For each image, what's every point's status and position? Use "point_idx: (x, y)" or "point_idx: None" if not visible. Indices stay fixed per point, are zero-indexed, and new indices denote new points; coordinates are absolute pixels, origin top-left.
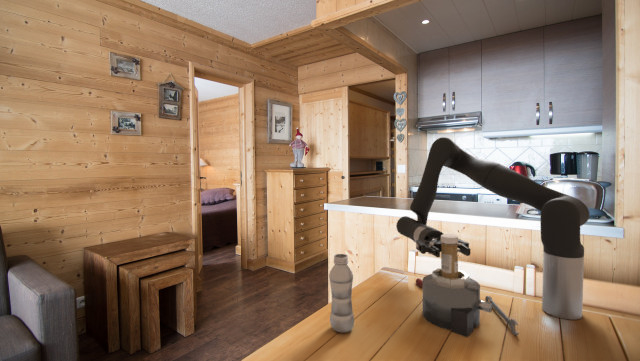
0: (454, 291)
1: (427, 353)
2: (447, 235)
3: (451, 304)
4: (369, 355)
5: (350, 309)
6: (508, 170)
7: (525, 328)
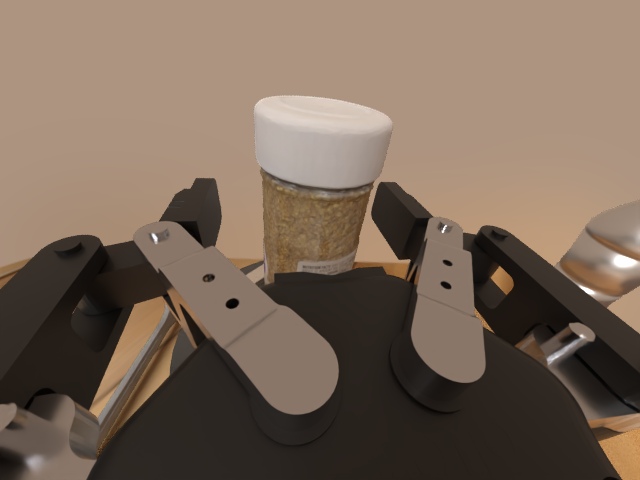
0: None
1: (369, 265)
2: (339, 108)
3: None
4: None
5: None
6: None
7: (131, 330)
